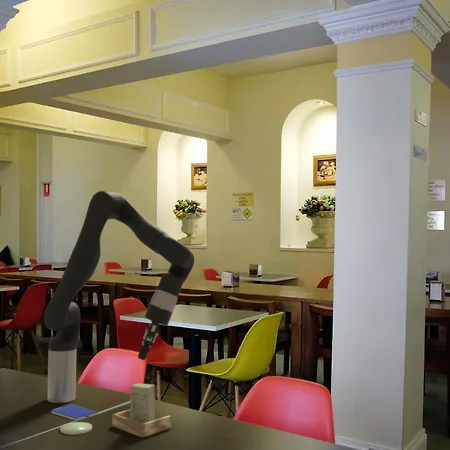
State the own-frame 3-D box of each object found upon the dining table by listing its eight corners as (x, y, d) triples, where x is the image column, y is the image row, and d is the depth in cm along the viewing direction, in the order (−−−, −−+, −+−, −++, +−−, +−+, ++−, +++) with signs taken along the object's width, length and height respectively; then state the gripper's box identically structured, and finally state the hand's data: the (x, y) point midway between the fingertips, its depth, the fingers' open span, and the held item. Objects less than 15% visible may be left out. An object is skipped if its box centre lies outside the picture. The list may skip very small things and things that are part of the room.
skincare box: (155, 425, 166) (156, 384, 166) (148, 430, 162) (149, 388, 162) (136, 423, 168) (136, 382, 168) (129, 427, 164) (129, 385, 164)
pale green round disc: (62, 424, 166) (62, 422, 166) (93, 423, 167) (93, 421, 167) (58, 435, 157) (58, 433, 157) (90, 434, 158) (91, 431, 158)
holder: (140, 417, 173) (140, 406, 173) (170, 427, 164) (171, 415, 164) (112, 426, 165) (112, 414, 165) (142, 437, 156) (142, 424, 156)
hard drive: (51, 409, 177) (76, 417, 169) (72, 403, 183) (97, 411, 176) (51, 414, 177) (76, 422, 169) (72, 408, 183) (97, 416, 176)
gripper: (149, 304, 177) (129, 353, 173) (150, 301, 163) (128, 354, 160) (171, 312, 178) (152, 361, 174) (174, 311, 164) (153, 364, 160)
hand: (141, 358), depth 167 cm, fingers open, 8 cm apart
